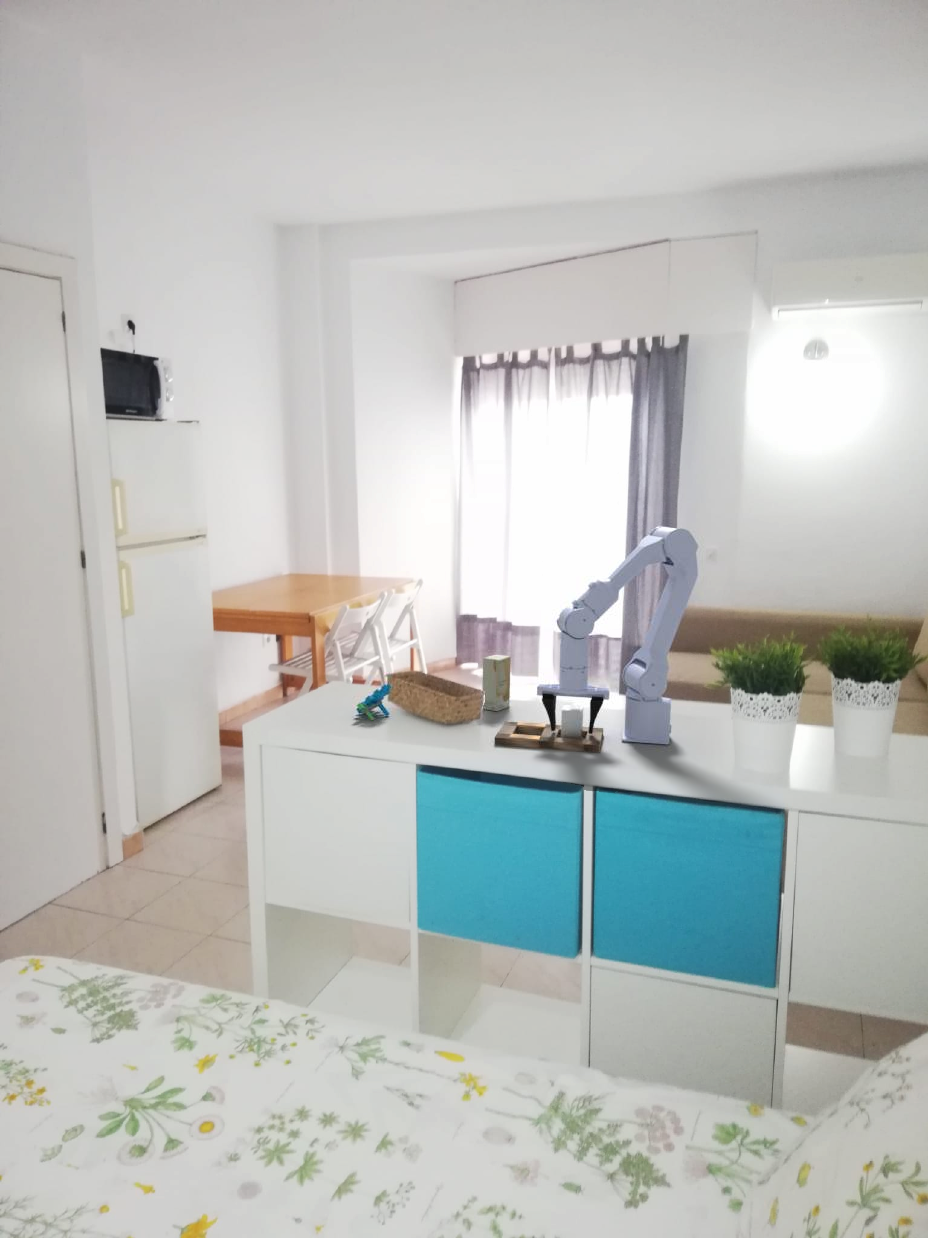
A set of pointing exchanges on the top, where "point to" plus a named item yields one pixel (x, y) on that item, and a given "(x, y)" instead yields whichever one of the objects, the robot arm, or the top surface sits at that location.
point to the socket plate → (546, 737)
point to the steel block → (572, 722)
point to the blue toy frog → (374, 701)
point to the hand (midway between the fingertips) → (572, 731)
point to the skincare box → (496, 682)
